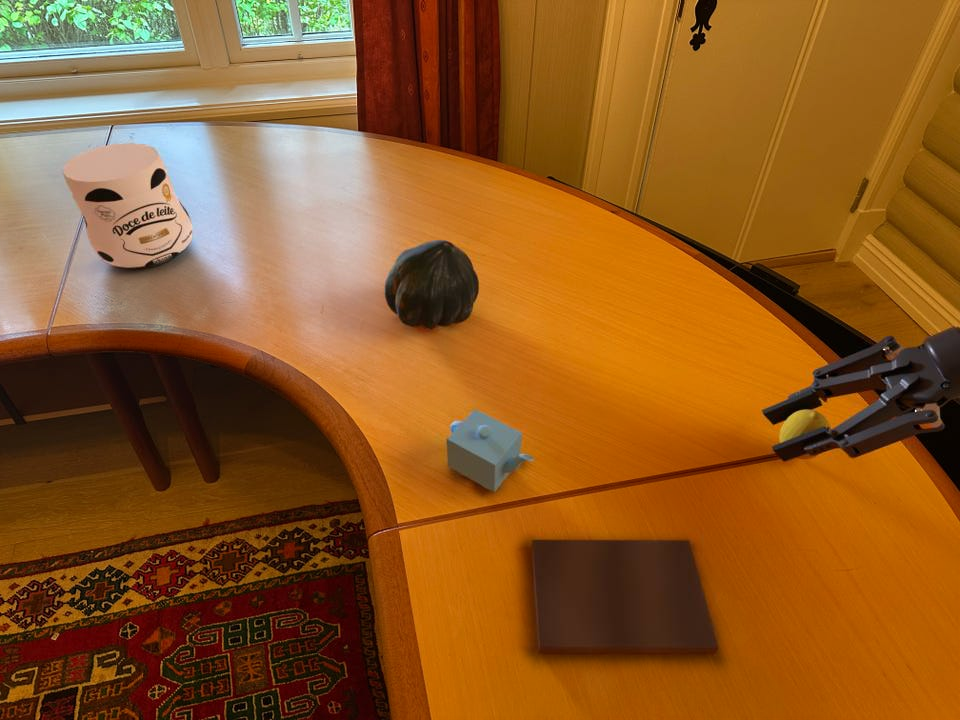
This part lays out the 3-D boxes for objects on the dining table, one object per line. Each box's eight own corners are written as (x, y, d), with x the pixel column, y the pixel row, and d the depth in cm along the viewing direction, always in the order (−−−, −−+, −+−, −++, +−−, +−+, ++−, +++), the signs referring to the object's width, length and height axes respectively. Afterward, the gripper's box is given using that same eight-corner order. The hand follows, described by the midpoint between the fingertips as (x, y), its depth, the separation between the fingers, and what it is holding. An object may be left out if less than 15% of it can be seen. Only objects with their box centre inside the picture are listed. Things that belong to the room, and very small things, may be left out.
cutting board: (686, 546, 70) (689, 540, 69) (715, 653, 62) (719, 648, 61) (531, 546, 70) (532, 539, 69) (538, 653, 62) (539, 647, 61)
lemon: (784, 431, 83) (806, 391, 78) (823, 456, 80) (849, 416, 74) (763, 452, 80) (783, 412, 75) (802, 478, 77) (826, 438, 72)
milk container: (167, 282, 108) (127, 189, 96) (80, 272, 111) (30, 180, 98) (214, 231, 121) (184, 144, 108) (136, 223, 123) (97, 136, 111)
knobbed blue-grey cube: (542, 476, 78) (546, 438, 72) (517, 510, 74) (520, 473, 69) (465, 435, 83) (464, 397, 77) (438, 465, 79) (436, 427, 74)
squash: (364, 272, 101) (387, 240, 88) (441, 248, 108) (473, 215, 94) (397, 350, 101) (424, 330, 87) (472, 321, 107) (509, 299, 94)
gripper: (1036, 437, 60) (804, 510, 73) (956, 321, 74) (771, 399, 87) (1011, 396, 57) (773, 479, 70) (932, 282, 71) (744, 369, 83)
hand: (772, 435), depth 78 cm, fingers closed on lemon, 5 cm apart
